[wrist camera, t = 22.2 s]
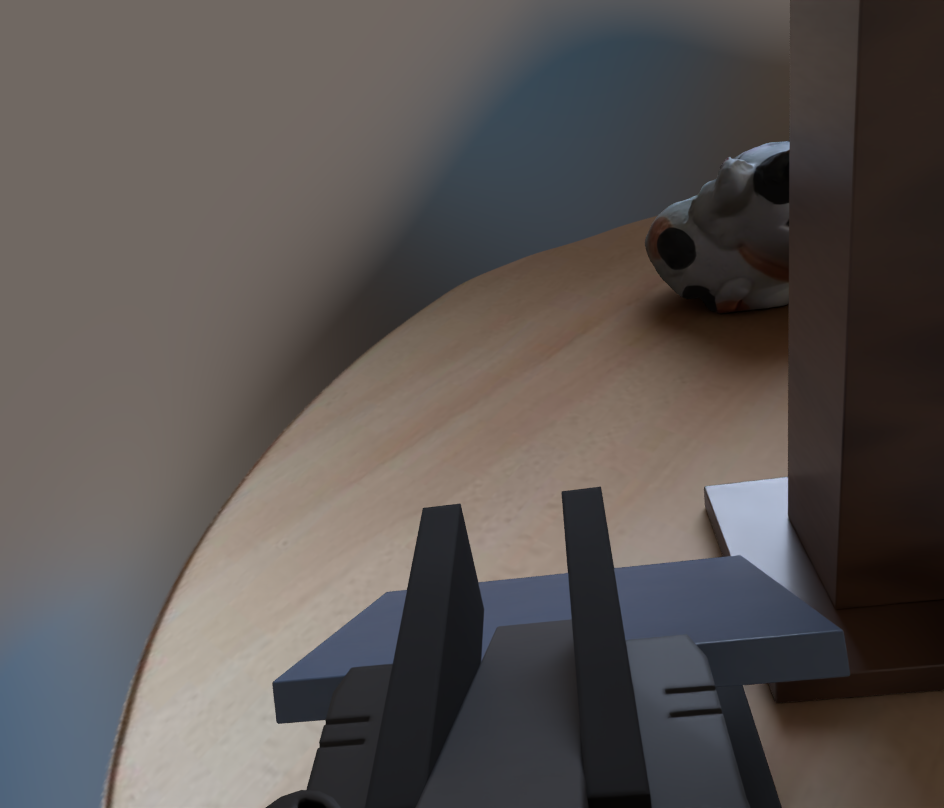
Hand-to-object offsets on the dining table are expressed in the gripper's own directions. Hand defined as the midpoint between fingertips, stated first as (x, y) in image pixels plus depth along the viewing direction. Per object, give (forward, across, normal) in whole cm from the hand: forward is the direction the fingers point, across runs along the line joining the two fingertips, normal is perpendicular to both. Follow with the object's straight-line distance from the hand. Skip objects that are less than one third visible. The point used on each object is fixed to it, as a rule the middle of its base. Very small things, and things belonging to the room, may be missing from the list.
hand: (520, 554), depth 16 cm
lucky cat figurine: (+48, +17, -14) cm, 52 cm away
